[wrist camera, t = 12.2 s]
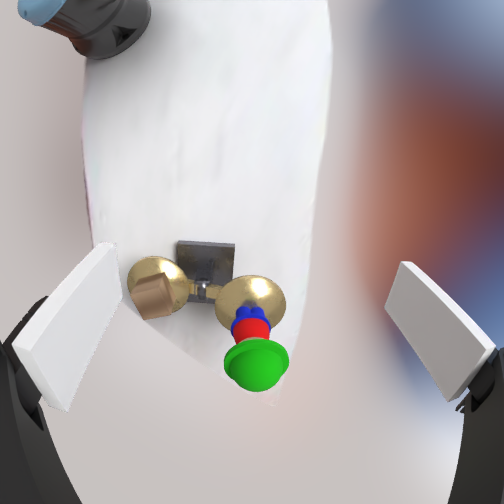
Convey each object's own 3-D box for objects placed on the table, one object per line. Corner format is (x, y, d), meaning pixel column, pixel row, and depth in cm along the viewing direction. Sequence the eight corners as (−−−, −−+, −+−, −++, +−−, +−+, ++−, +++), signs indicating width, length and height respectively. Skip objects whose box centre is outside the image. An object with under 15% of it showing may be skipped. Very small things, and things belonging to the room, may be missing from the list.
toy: (278, 288, 40) (299, 362, 26) (272, 328, 43) (287, 402, 30) (225, 286, 39) (224, 363, 26) (224, 327, 42) (223, 404, 29)
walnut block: (138, 278, 42) (129, 295, 38) (164, 271, 42) (157, 288, 38) (150, 302, 45) (143, 320, 40) (176, 296, 44) (170, 314, 40)
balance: (136, 237, 46) (114, 264, 37) (280, 247, 49) (292, 276, 39) (141, 293, 51) (125, 326, 42) (271, 301, 54) (279, 337, 44)
